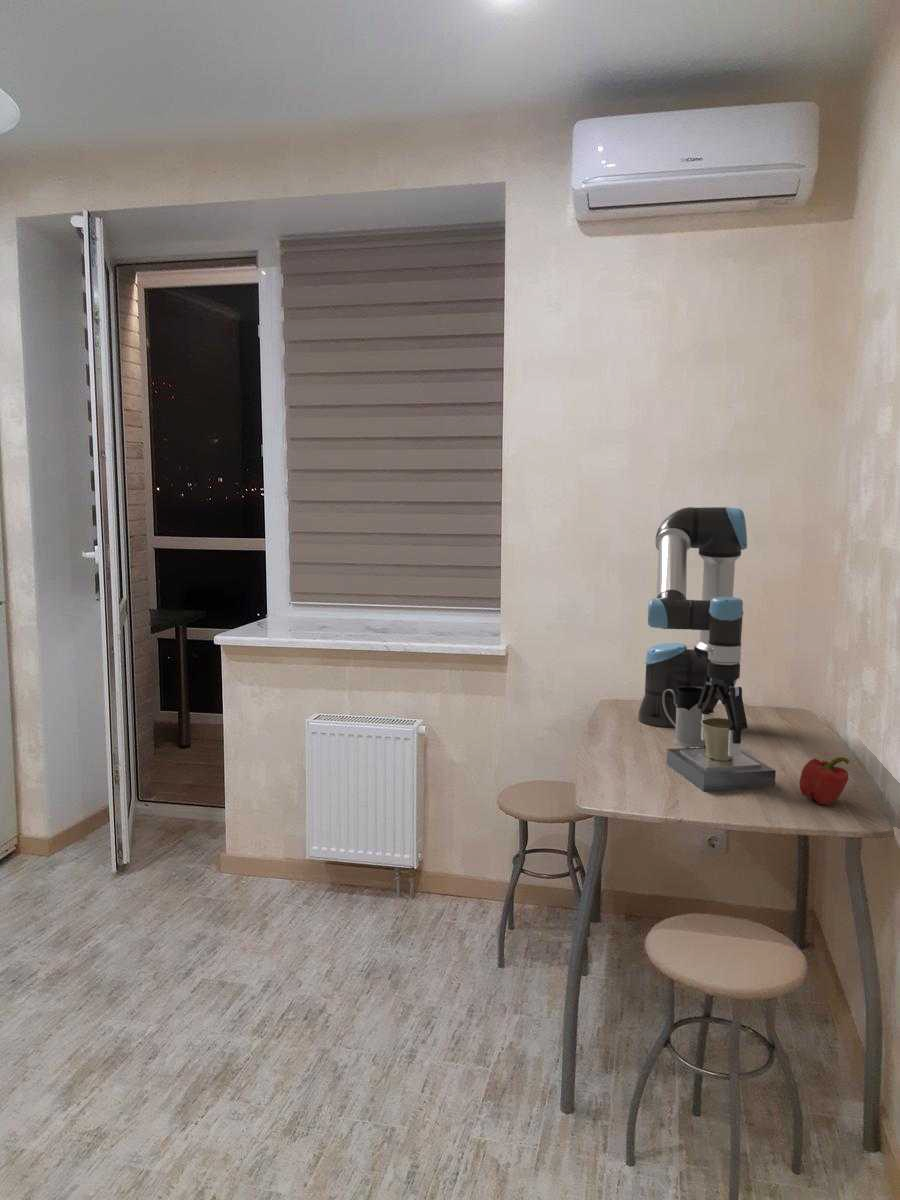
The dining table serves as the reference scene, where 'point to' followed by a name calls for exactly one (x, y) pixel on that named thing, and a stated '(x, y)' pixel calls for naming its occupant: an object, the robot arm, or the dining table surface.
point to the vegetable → (823, 780)
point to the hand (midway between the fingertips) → (719, 747)
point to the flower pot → (716, 738)
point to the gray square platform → (720, 770)
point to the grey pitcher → (687, 717)
